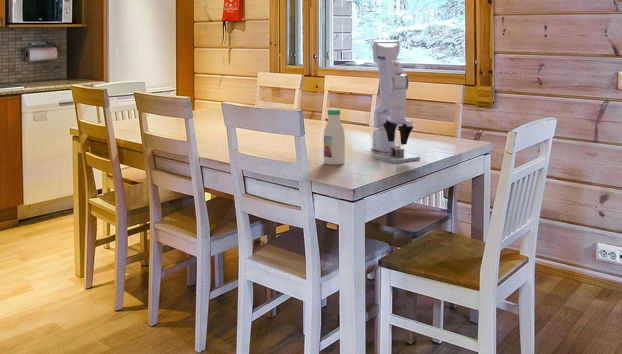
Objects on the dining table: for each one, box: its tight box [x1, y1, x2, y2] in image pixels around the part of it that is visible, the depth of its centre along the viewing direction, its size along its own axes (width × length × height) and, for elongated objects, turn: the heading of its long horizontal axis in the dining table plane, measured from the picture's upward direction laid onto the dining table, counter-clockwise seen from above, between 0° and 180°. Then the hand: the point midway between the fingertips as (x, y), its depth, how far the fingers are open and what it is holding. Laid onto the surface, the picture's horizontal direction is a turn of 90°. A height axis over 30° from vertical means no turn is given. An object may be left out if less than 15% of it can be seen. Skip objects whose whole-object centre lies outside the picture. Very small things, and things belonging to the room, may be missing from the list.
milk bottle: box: [323, 108, 346, 166], centre depth 237 cm, size 8×8×20 cm
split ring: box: [389, 146, 405, 157], centre depth 244 cm, size 5×5×3 cm
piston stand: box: [374, 144, 421, 164], centre depth 244 cm, size 12×12×5 cm
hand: (397, 142), depth 244 cm, fingers open, 7 cm apart
